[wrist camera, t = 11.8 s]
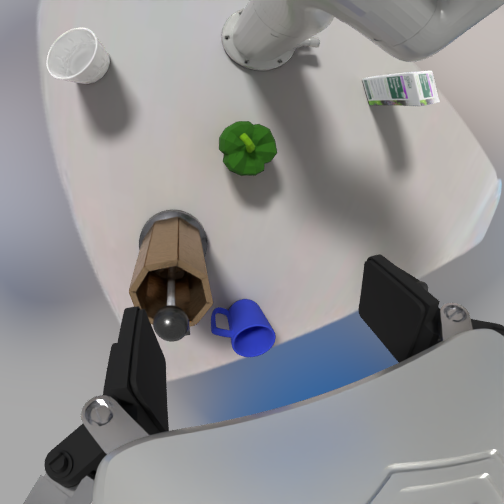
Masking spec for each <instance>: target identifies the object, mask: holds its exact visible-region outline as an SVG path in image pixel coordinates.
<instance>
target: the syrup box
mask: <svg viewBox="0 0 504 504" xmlns="http://www.w3.org/2000/svg"><path fill="white" fill-rule="evenodd" d="M362 82H363V84H364V88H365V91H366V95H367V98H368V102H369V105H404V106H423V105H428V104H433V103H438V102H440V101H439V98H438V94H437V89H436V84H435V80H434V76H433V73H432V71H417V72H406V73H396V74H387V75H379V76H373V77H367V78H363V79H362Z"/></svg>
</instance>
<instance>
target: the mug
mask: <svg viewBox="0 0 504 504" xmlns="http://www.w3.org/2000/svg"><path fill="white" fill-rule="evenodd" d="M217 313H221V314H224V315H226V316H227V318H228V323H229V329H230V330H224V329H220V328H217V327H216V321H215V315H216V314H217ZM211 331H212V333H213V334H215V335H219V336H223V337H231V343H232V348H233V350H234V351H235V352H236V353H237V354H239V355H241V356H244V357H255V356H259V355H261V354H263V353H265V352H267V351H268V350H269V349H270V348H271V347H272V346H273V344H274V342H275V338H276V336H275V332H274V330H273V329H272V327H271V325H270V324H269V322H268V320H267V319H266V317H265V315H264V314H263V312H262V310H261V309H260V307H259V306H258V304H257V303H255V302H254V301H252V300H248V299H243V300H239V301H237V302H235V303H234V304H233V305H232V306H231V307H230V309H229V311H228V310H227V309H225V308H221V307H218V308H215V309H214V311H213V313H212V316H211Z"/></svg>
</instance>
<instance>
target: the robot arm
mask: <svg viewBox="0 0 504 504" xmlns="http://www.w3.org/2000/svg"><path fill="white" fill-rule="evenodd" d="M503 4H504V0H249V2H248V4H247V5H246V7H245V8H244V9H241V10H239V11H237V12H235V13H234V14H232V15H231V16H230V17H229V18H228V19H227V21H226V23H225V24H224V27H223V29H222V35H221V36H222V44H223V47H224V49H225V51H226V53H227V54H228V55H229V56H230V58H231V59H233V60H234V61H235V62H236V63H238V64H240V65H241V66H243V67H246V68H249V69H253V70H271V69H274V68H277V67H279V66H281V65H283V64H284V63H286V62H287V61H288V60H289V59H290V58H291V56H292V55H293V53H294V51H295V48H301V47H302V46H307V47H319V45H320V40H319V38H315V37H312V36H314V35H316V34H317V33H319V32H321V31H323V30H324V29H325V28H327V27H328V26H329V24H330V23H331V22H332V20H333V18H334V17H336V18H337V19H339V20H340V21H342V22H345V23H346V24H348V25H349V26H351V27H352V28H354V29H355V30H356V31H358V32H359V33H361V34H362V35H364V36H365V37H366V38H368V39H369V40H371V41H372V42H373V43H375V44H376V45H377V46H379V47H380V48H381V49H383V50H384V51H386V52H387V53H388V54H390V55H391V56H393V57H395V58H397V59H399V60H402V61H406V62H416V61H421V60H424V59H426V58H428V57H431V56H432V55H434V54H436V53H437V52H439V51H440V50H442V49H443V48H444V47H446V46H447V45H449V44H450V43H451V42H453V41H454V40H455V39H457V38H458V37H459V36H461V35H462V34H463V33H465V32H466V31H467V30H469V29H470V28H471V27H473V26H474V25H476V24H477V23H478V22H480V21H481V20H482V19H484V18H485V17H487V16H488V15H489V14H491V13H492V12H494V11H495V10H497V9H498V8H499V7H500V6H502V5H503ZM239 14H241V15H239ZM225 38H228V40H226V39H225ZM277 61H279V63H278V62H277ZM245 62H247V64H245ZM438 305H439V301H438V300H437V299H436V298H434V297H433V296H432V295H431V294H430V293H429V292H427V291H426V290H425V289H424V288H423V287H421V286H420V285H419V284H418V283H417V282H415V281H414V280H413V279H412V278H410V277H409V276H408V275H407V274H405V273H404V272H403V271H402V270H400V269H399V268H398V267H396V266H395V265H394V264H393V263H391V262H390V261H389V260H387V259H386V258H385V257H383V256H382V255H375V256H371V257H369V258H368V259H367V261H366V262H365V264H364V273H363V281H362V289H361V296H360V303H359V314H360V316H361V318H362V319H363V320H364V321H365V323H367V325H368V326H369V327H370V328H371V329H372V331H373V332H374V333H375V334H376V335H377V337H378V338H379V339H380V340H381V342H382V343H383V344H384V345H385V346H386V348H387V349H388V350H389V351H390V352H391V354H392V355H393V356H394V357H395V358H396V360H397V361H398V362H399V363H398V364H396V365H393V366H391V367H389V368H387V369H385V370H383V371H380V372H378V373H376V374H373V375H371V376H368V377H366V378H364V379H361V380H359V381H356V382H354V383H351V384H349V385H346V386H343V387H341V388H338V389H336V390H333V391H330V392H327V393H324V394H321V395H318V396H316V397H313V398H309V399H307V400H303V401H300V402H297V403H293V404H290V405H287V406H283V407H280V408H276V409H273V410H269V411H265V412H261V413H257V414H253V415H249V416H244V417H240V418H236V419H231V420H226V421H221V422H217V423H211V424H206V425H201V426H195V427H189V428H183V429H179V430H172V431H169V427H168V412H167V392H166V391H167V390H166V362H165V358H164V355H163V353H162V350H161V348H160V346H159V343H158V341H157V338H156V336H155V334H154V331H153V329H152V326H151V324H150V321H149V318H148V316H147V313H146V311H145V309H140V307H139V306H136V307H131V308H126V309H125V310H124V314H123V319H122V323H121V328H120V334H119V338H118V343H114V344H113V345H112V347H111V351H110V356H109V362H108V368H107V373H106V379H105V385H104V391H103V395H100V396H96V397H93V398H92V399H90V400H89V401H88V402H86V403H85V405H84V407H83V408H82V412H81V419H82V422H83V424H82V425H81V426H80V427H78V428H77V429H76V430H75V431H74V432H73V433H71V434H70V435H69V436H68V437H67V438H66V439H64V440H63V441H62V442H61V443H60V444H59V445H57V446H56V447H55V448H54V449H52V450H51V451H50V452H49V453H48V455H47V457H46V459H45V470H46V474H45V476H44V477H43V476H42V475H40V477H39V479H38V480H37V482H36V484H35V485H34V487H33V488H32V490H31V492H30V494H29V495H28V497H27V498H26V500H25V502H24V504H91V502H92V501H93V502H92V503H93V504H504V326H502V325H500V324H495V323H490V322H484V321H478V320H473V319H471V318H470V315H469V312H468V311H467V310H466V309H465V308H464V307H463V306H461V305H459V304H456V303H447V304H444V305H443V306H442V307H441V309H439V308H438Z"/></svg>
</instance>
